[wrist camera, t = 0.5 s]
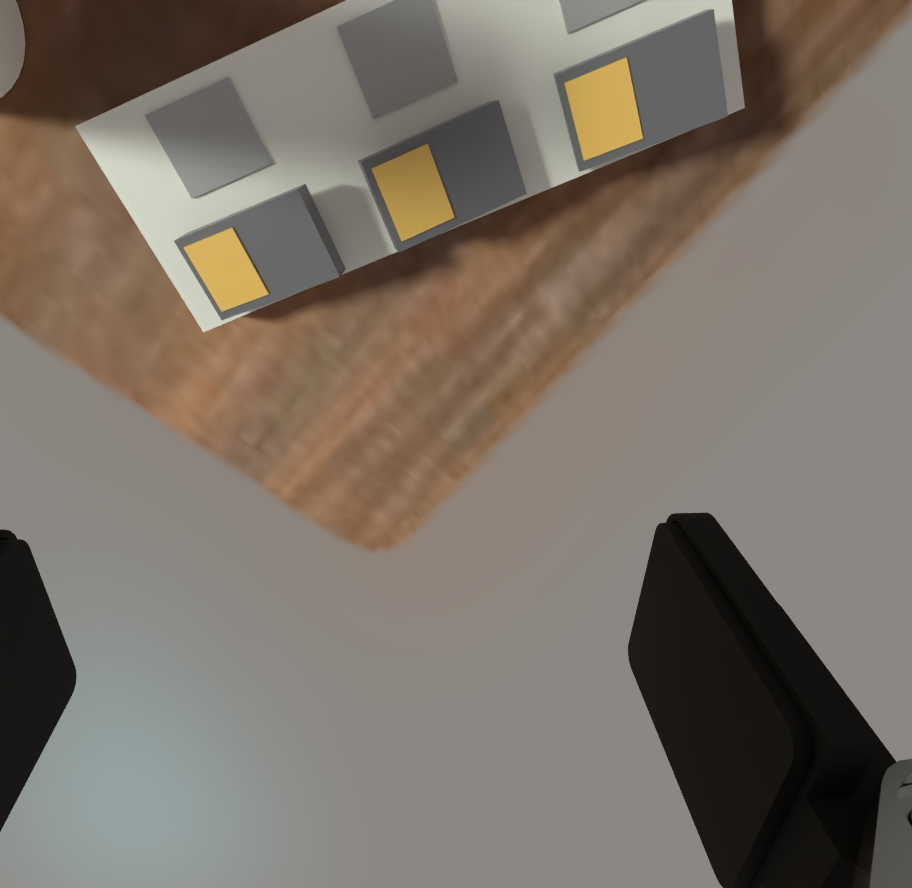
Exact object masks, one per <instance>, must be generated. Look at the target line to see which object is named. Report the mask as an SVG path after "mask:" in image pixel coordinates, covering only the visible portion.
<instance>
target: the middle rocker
mask: <svg viewBox="0 0 912 888" xmlns="http://www.w3.org/2000/svg"><path fill="white" fill-rule="evenodd" d="M358 163H359V166H360V168H361V170H362V173H363V175H364V177H365V180H366V182H367V184H368V187H369V189H370V191H371V194H372V196H373V199H374V201H375V203H376V206H377V208H378V210H379V213H380V215H381V217H382V220H383V222H384V224H385V227H386V229H387V232H388V234H389V236H390V239H391V241H392V243H393V246H394V248H395V249H396V250H397V251H398V252H401V251H404V250H406V249H408V248H410V247H412V246H414V245H417V244H419V243H421V242H423V241H425V240H428V239H430V238H432V237H434V236H436V235H438V234H441V233H443V232H445V231H447V230H449V229H452V228H454V227H456V226H458V225H460V224H462V223H465V222H467V221H469V220H471V219H473V218H475V217H478V216H480V215H482V214H484V213H486V212H489V211H491V210H493V209H495V208H497V207H499V206H502V205H504V204H506V203H508V202H510V201H512V200H515V199H517V198H519V197H521V196H523V195H526V194H527V192H526V188H525V185H524V182H523V179H522V175H521V172H520V169H519V165H518V162H517V159H516V155H515V152H514V149H513V145H512V142H511V139H510V136H509V132H508V129H507V126H506V122H505V119H504V116H503V112H502V109H501V106H500V102H499V100H494V101H489V102H487V103H485V104H483V105H481V106H478V107H476V108H474V109H472V110H469V111H467V112H465V113H463V114H461V115H458V116H456V117H454V118H452V119H449V120H447V121H445V122H443V123H441V124H438V125H436V126H434V127H432V128H429V129H427V130H425V131H423V132H421V133H418V134H416V135H414V136H412V137H410V138H407V139H405V140H403V141H401V142H398V143H396V144H394V145H392V146H390V147H387V148H385V149H383V150H381V151H378V152H376V153H374V154H372V155H370V156H367V157H365V158H363V159H361V160H358Z"/></svg>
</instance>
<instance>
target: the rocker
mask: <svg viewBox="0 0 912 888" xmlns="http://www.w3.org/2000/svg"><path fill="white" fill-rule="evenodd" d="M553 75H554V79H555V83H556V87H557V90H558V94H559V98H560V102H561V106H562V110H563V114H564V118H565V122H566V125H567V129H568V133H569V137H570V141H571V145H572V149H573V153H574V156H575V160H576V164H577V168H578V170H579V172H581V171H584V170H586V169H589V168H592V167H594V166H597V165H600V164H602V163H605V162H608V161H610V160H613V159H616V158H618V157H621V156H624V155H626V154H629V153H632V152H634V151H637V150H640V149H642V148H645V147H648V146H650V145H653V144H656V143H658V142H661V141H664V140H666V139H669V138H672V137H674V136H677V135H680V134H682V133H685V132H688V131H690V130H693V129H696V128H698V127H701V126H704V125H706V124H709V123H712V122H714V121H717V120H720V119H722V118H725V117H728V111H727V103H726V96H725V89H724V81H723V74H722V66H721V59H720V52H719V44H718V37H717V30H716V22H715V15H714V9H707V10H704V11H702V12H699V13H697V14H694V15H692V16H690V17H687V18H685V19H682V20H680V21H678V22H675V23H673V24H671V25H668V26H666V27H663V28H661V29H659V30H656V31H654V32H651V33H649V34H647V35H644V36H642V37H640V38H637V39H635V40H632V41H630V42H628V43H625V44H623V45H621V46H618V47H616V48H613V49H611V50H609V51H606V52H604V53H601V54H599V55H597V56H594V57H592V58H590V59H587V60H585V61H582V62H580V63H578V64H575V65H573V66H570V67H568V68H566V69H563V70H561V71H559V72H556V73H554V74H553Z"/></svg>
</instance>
